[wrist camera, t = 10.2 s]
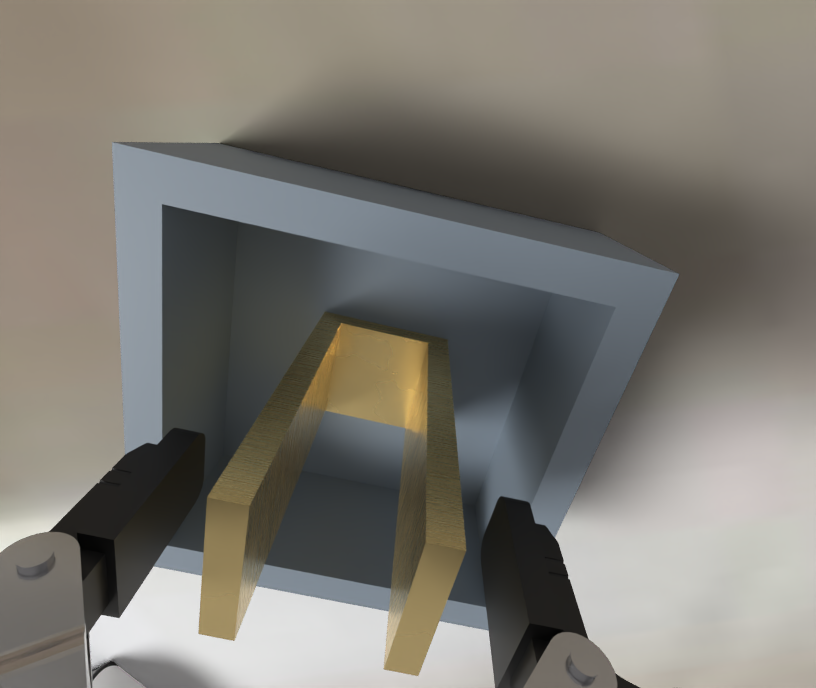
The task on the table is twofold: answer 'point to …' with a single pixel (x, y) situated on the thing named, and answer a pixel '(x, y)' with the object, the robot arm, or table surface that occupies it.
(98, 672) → the laminator
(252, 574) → the bracket
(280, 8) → the table surface
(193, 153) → the box
